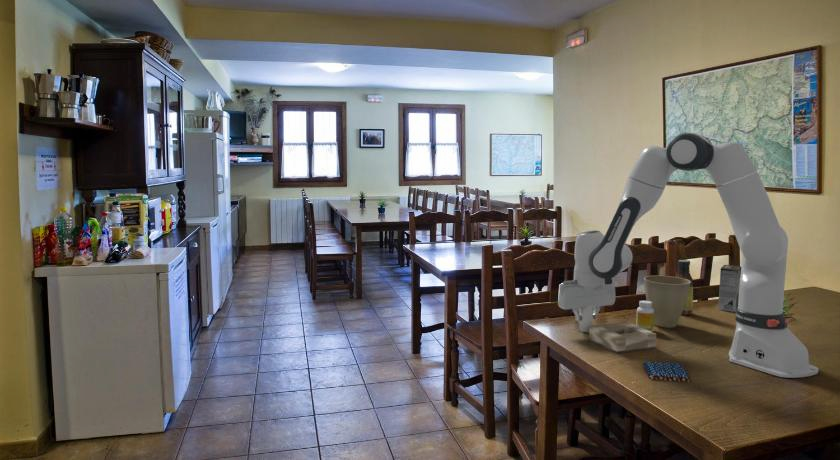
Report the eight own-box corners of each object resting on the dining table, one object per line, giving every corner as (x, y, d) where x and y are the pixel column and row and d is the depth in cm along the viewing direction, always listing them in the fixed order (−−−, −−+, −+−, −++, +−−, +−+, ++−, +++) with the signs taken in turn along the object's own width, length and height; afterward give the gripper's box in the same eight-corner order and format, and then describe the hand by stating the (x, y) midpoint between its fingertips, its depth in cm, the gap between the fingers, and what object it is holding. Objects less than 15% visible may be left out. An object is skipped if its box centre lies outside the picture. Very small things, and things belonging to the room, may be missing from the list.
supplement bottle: (654, 332, 195) (655, 304, 194) (637, 332, 197) (638, 303, 195) (651, 328, 201) (652, 300, 200) (634, 327, 202) (636, 299, 201)
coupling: (597, 332, 196) (598, 306, 194) (586, 334, 194) (587, 307, 193) (585, 327, 202) (586, 301, 201) (574, 328, 201) (574, 302, 200)
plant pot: (675, 333, 195) (678, 286, 193) (633, 324, 206) (635, 279, 204) (696, 325, 204) (698, 279, 202) (654, 316, 215) (656, 273, 213)
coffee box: (721, 304, 232) (724, 264, 231) (740, 307, 229) (742, 266, 227) (717, 309, 225) (719, 267, 223) (736, 312, 221) (739, 269, 219)
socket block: (655, 348, 179) (656, 333, 179) (616, 353, 175) (617, 338, 174) (625, 335, 193) (626, 321, 192) (588, 339, 188) (589, 325, 188)
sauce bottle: (693, 312, 221) (696, 260, 218) (691, 316, 215) (694, 262, 213) (674, 310, 224) (677, 258, 222) (671, 314, 219) (674, 261, 217)
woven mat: (691, 383, 153) (692, 376, 152) (648, 381, 155) (648, 373, 154) (682, 369, 163) (682, 362, 163) (641, 367, 165) (641, 360, 165)
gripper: (565, 283, 190) (564, 325, 191) (618, 278, 196) (617, 319, 198) (554, 279, 196) (553, 320, 197) (607, 275, 202) (605, 314, 204)
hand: (586, 319), depth 198 cm, fingers closed on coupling, 4 cm apart
